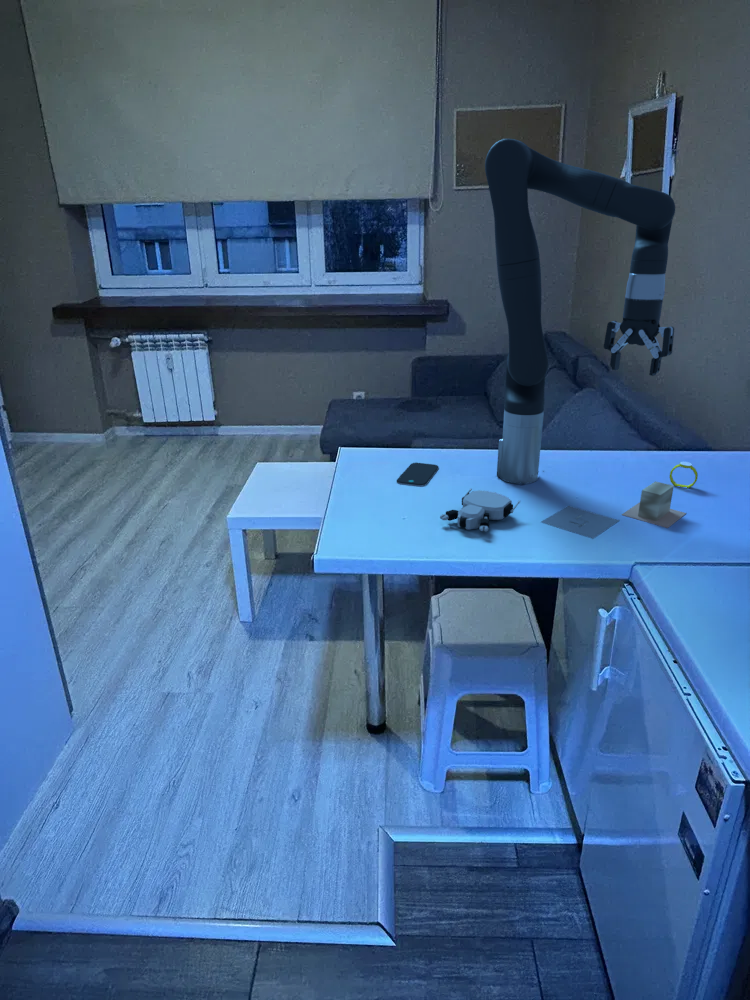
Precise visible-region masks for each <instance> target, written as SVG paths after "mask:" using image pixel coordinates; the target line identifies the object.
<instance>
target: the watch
mask: <svg viewBox="0 0 750 1000" xmlns="http://www.w3.org/2000/svg"><path fill="white" fill-rule="evenodd" d="M677 468H683V469H690V470H692V471H693V474H694V476H695V477H694V481H693V482H692V483H690V484H680V483H677V482H676V481H675V480H674V478H673V473H674V471H675V470H676V469H677ZM698 476H699V474H698V471H697V469H696V468H695V467H694V466H693V464H692V463H691V462H689V461H680V462H679V464H676V465H675V466H674V467H673V468H671V470H670V473H669V480H670V483H671V485H673V486H674V487H677V486H680V487H679V488H683V487H687V488H686V489H689V488H691V487H693V486H694V485H695V484H696V483H697V481H698Z"/></svg>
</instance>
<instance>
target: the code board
mask: <svg viewBox="0 0 750 1000" xmlns="http://www.w3.org/2000/svg"><path fill="white" fill-rule="evenodd" d="M619 522H620V519H617V518H613V517H609V516H606V515H603V514H600V513H596V512H591V511H589V510H587V509H586V510H585V509H582V508H578V507H575V506H572V505H567V506H565V507H563V508H562V509H560V510H559V511H557V512H555V513H553V514H552V515H550V516H548V517H547V518H545V519H542V521H540V523H542V524H545V525H547V526H552V527H554V528H559V529H561V530H564V531H567V532H570V533H573V534H577V535H579V536H582V537H587V538H590V539H592V540H593V539H595V538H596V537H598V536H599V535H601V534H602V533H604V532H605V531H607V530H608V529H610V528H611V527H613V526H614V525H615V524H617V523H619Z"/></svg>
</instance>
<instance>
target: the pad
mask: <svg viewBox="0 0 750 1000" xmlns="http://www.w3.org/2000/svg"><path fill="white" fill-rule="evenodd" d="M639 506H640V501H639V502H638V503H636V504H635V505H633V506H632V507H631V508H629V509H627V510H626V511H625V512H623V513H621V515H622V516H623V517H627V518H630V519H635V520H638V521H641V522H645V523H648V524H652V525H655V526H659V527H662V528H666V529H668V528H670V527H671V526H673V525H674V524H676V523H677V521H679V520H680V519H682V518H683V517H684V516H686V514H687V512H683V511H681V510H676V509H672V508H670V511H669V512H668V513H667V514H665V515H664V516H663V517H661V518H660V519H659V520H657V521H654V520H650V519H647V518H643V517H639V516H638V512H639Z"/></svg>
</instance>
